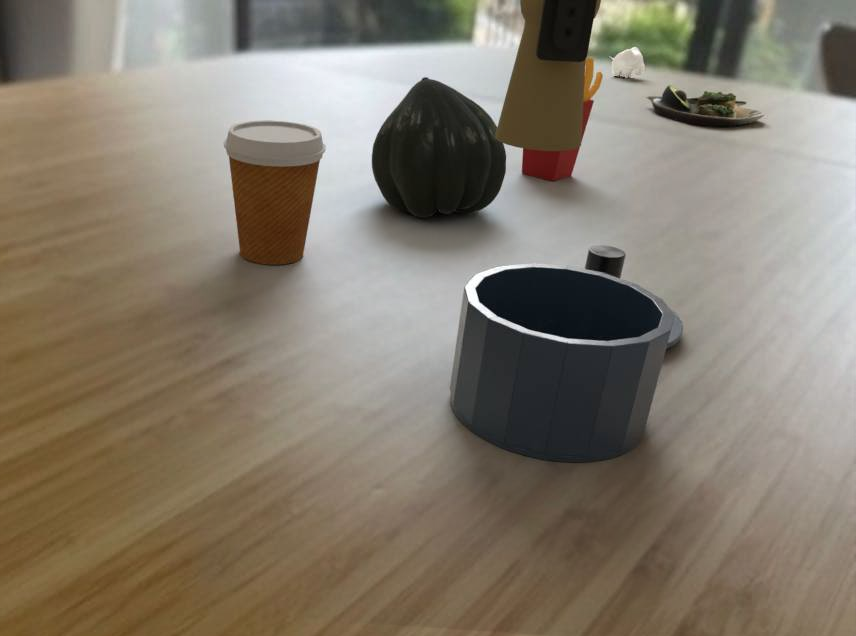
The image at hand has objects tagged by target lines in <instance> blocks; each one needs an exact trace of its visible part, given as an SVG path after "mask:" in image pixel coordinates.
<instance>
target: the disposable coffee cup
mask: <svg viewBox="0 0 856 636" xmlns="http://www.w3.org/2000/svg"><path fill="white" fill-rule="evenodd" d="M223 147H224V149H225V153H226V155H227V156H228V159H229V160H228V161H229V172H230V178H231V179H230V180H231V186H232V193H233V194H232V197H233V202H234V203H233V204H234V211H235V213H234V215H235V220H236V229H237V230H236V231H237V239H238V246H239V247H238V248H239V254H240V256H241V257H242V258H243V259H244V260H247V261H249V262H252V263H257V264H260V265H271V266H272V265H274V266H275V265H276V266H277V265H278V266H280V265H287V264H292V263H295V262H298V261H300V260H301V259H302V258H303V257H304V253H305V247H306V242H307V235H308V230H309V224H310V218H311V213H312V208H313V202H314V196H315V191H316V185H317V178H318V173H319V167H320V162H321V159H323V155H324V153H325V152H326V150H327V146H326V144H325V143H324V142H323V135H322V131H321V130H320V129H318V128H316V127H314V126H311V125H308V124H306V123H300V122H294V121H284V120H250V121H249V120H248V121H243V122H238V123H235V124H233V125H231V126H230V127H229V129H228V131H227V136H226V139H225V140H223Z"/></svg>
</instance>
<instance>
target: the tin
mask: <svg viewBox="0 0 856 636" xmlns="http://www.w3.org/2000/svg"><path fill="white" fill-rule="evenodd" d="M670 309H671V308H670V307H669V306H668V304H667V303H666V302H665V300H664V299H663V298H661V297H659V296H658V295H657V294H655V293H653V292H651V291H650V290H647V289H646V288H644V287H642V286H641V285H639V284H637V283H634V282H631V281H629V280H626V279H623V278H621V277H620V278H617V277H614V276H611V275H608V274H606V273H602V272H597V271H592V270H587V269H585V268H581V267H577V266H571V265H563V264H550V263H549V264H548V263H532V262H530V263H521V264H509V265H501V266H500V265H499V266H495V267H492V268H490V269H486V270H484V271H481V272H477V273H476V274H474V275H473V276H472V278H470V280H469V281H467V283H466V284H465V285H464V287H463V294H462V300H461V306H460V313H459V321H458V329H457V334H456V336H457V337H456V342H455V349H454V357H453V362H452V363H453V364H452V371H451V377H450V383H449V391H450V397H449V398H450V401H449V402H450V406H451V410H452V411H453V413H454V415H455V416H456V418H457V420H459V422H461V424H462V425H463V426H464V427H466V428H467V429H468V430H469V431H470V432H472V433H473V434H475V435H476V436H477V437H479V438H481V439H483V440H484V441H486V442H488V443H490V444H493V445H494V446H496V447H499V448H502V449H503V450H507V451H509V452H512V453H515V454H519V455H522V456H525V457H530V458H534V459H539V460H544V461H545V460H546V461H552V462H561V463H592V462H599V461H605V460H610V459H614V458H616V457H619V456H623V455H624V454H626V453H628V452H630V451H632V449H634V448H635V447H636V446H637V445H638V444H639V443H640V442H641V440H642V439H643V437H644V434H645V429H646V427H647V423H648V419H649V415H650V410H651V407H652V404H653V400H654V397H655V392H656V388H657V385H658V382H659V377H660V374H661V370H662V366H663V362H664V359H665V355H666V351H667V349H668V348H667V344H668V341H669V337H670V333H671V330H672V326H673V322H674V318H675V315H674V314H673V312H674V311H673V310H672V309H671V310H672V311H673V312H672V311H671V310H670ZM666 348H667V349H666Z"/></svg>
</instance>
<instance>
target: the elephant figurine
mask: <svg viewBox="0 0 856 636" xmlns="http://www.w3.org/2000/svg"><path fill="white" fill-rule="evenodd" d="M609 58H610V59H611V60H612V62H611V72H612V76H613V77H614V76H618V77H620V76H619V75H621V77H622V78H623V77H625V78H624V79H628V78H629V77H628V76H630V77H631V76H632V74H633V72H634V71H635V70H636V69H637V70H638V71H635V73H634V74H635V75H636V76H640V75H642V74H643V72H644V71H645V70H646V68H645V62H644V57H643V54H642V53H641V51H640V49H639V47H636V46H633V47H631V48H629V49H625V50H623V51H621V52H619V53H617V54H616V55H615V56H614V57H612V56H609Z"/></svg>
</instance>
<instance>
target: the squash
mask: <svg viewBox="0 0 856 636" xmlns="http://www.w3.org/2000/svg"><path fill="white" fill-rule="evenodd" d="M497 127H498V125H497V124H496V122H495V121H494V120H493V118H492V116H491V115H490V114H489V113H488V112H487V111H486V110H485V109H484V108H483V107H482V106H481V105H480V104H478V103H477V102H475V101H474V100H472V99H471V98H469V97H468V96H466V95H464V94H463V93H462V92H460V91H458V90H456V89H455V88H453V87H451V86H449V85H447V84H445V83H443V82H441V81H439V80H436V79H431V78H429V77H426V76H424V77H422V78H421V80H419V81H418V82H416V83H415V84H414V85H413V86H412V87H411V88H410V89H409V91H408V92H407V93H406V94H405V96H404V97H403V98H402V100H401V101H400V102H399V103H398V104H397V106H396V107H395V108H394V109H393V111H392V112H391V113H390V114H389V115H388V116H387V118H386V119H385V120H384V121H383V123H382V124H381V126H380V128H379V130H378V132H377V134H376V135H375V136H376V137H375V139H374V141H373V145H372V153H371V170H372V175H373V178H374V181H375V183H376V185H377V187H378V189H379V192H380V193H381V195H382V197H383V198H384V200H385V201H386V203H387V204H388V205H389V206H390V207H391V208H393V209H395V210H396V211H398V212H402V213H410V214H411V215H412V216H414V217H417V218H424V219H425V218H430V217H432V216H434V215H435V214H436V213H437V211H438V212H440V213H441V214H446V215H447V214H452V213H454V212H456V213H459V214H468V215H469V214H473V213H477V212H479V211H481V210H483V209H485V208H487V207H488V206H489V205H490V204H491V203H493V202H494V201H495V199H496V198H497V196H498V195H499V193H500V192H501V189H502V187H503V183H504V180H505V176H506V170H507V153H506V148H505V144H504V143H502V142H499V141H498V140H497V139H496V138H495V134H496V130H497Z"/></svg>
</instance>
